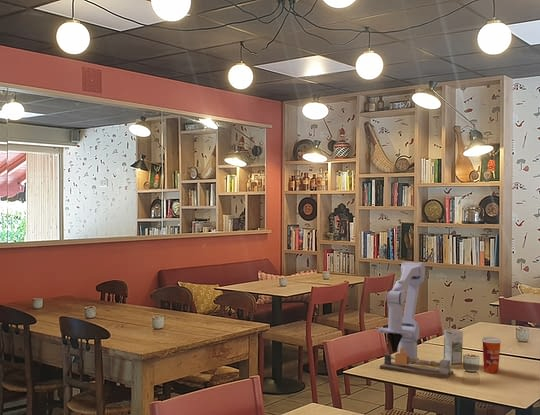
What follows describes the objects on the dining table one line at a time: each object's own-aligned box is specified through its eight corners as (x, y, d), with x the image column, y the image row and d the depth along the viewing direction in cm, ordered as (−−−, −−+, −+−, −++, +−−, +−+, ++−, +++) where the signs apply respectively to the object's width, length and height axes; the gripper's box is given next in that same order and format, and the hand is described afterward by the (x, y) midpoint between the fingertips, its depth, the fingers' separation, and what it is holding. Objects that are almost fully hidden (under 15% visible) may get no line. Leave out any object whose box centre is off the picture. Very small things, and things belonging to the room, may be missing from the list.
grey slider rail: (388, 364, 280) (388, 350, 281) (453, 373, 266) (453, 359, 266) (379, 368, 272) (380, 354, 272) (446, 378, 257) (446, 363, 257)
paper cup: (488, 374, 266) (488, 340, 266) (477, 370, 273) (478, 336, 273) (504, 373, 268) (505, 339, 268) (493, 369, 275) (494, 336, 275)
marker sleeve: (398, 361, 275) (398, 346, 275) (409, 363, 272) (410, 348, 272) (394, 363, 272) (395, 348, 272) (406, 365, 269) (406, 350, 269)
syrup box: (454, 360, 290) (454, 328, 290) (462, 363, 284) (463, 330, 284) (443, 361, 288) (443, 328, 288) (451, 364, 282) (452, 331, 282)
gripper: (375, 318, 274) (374, 350, 274) (408, 322, 267) (407, 355, 267) (381, 316, 280) (381, 348, 280) (414, 320, 273) (413, 352, 273)
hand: (394, 351), depth 274 cm, fingers closed
